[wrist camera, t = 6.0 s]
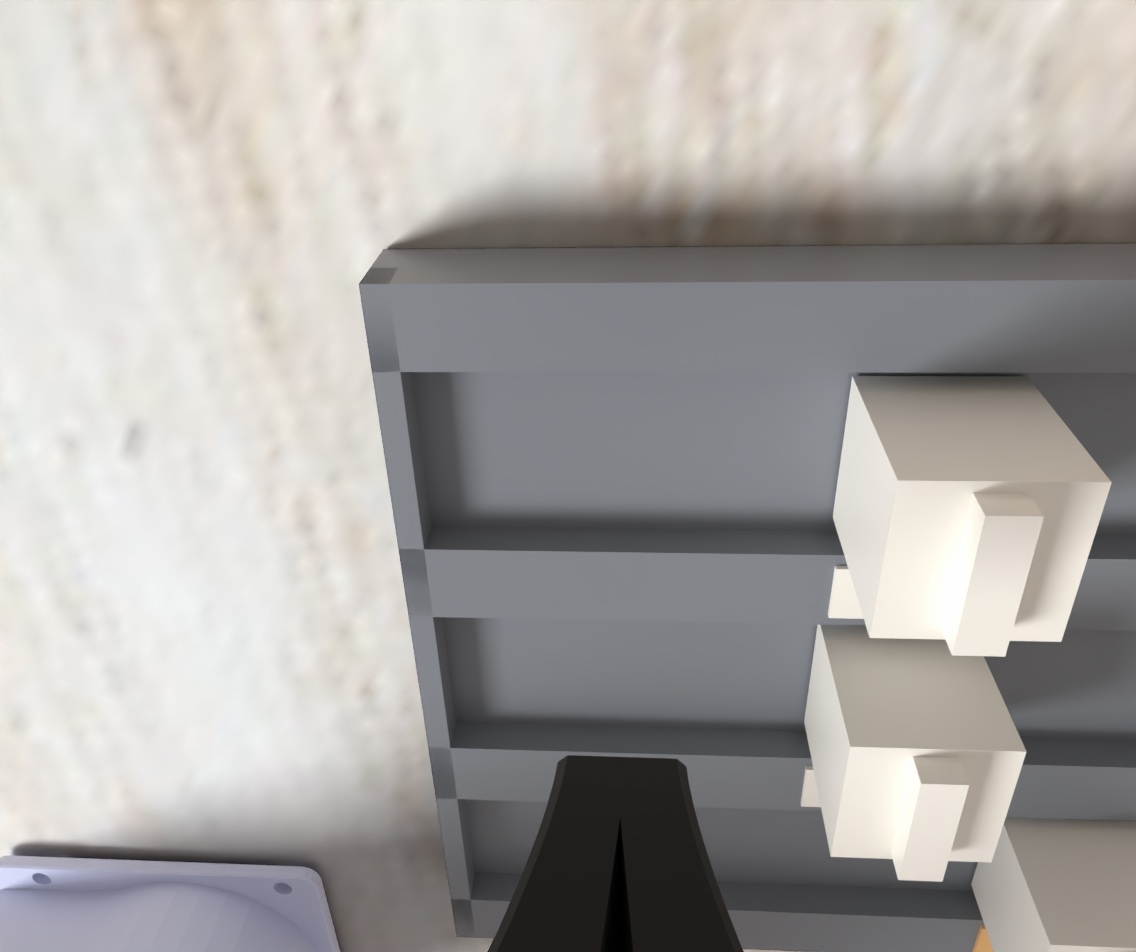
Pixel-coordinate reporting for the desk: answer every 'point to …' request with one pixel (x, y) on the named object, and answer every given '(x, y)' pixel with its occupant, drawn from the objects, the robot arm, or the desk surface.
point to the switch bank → (719, 540)
